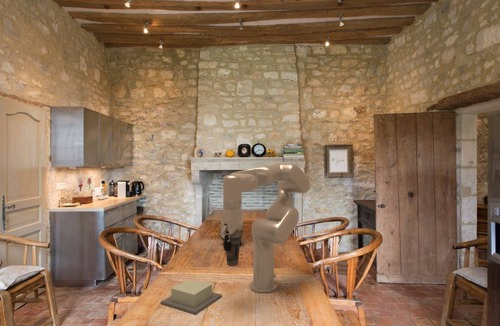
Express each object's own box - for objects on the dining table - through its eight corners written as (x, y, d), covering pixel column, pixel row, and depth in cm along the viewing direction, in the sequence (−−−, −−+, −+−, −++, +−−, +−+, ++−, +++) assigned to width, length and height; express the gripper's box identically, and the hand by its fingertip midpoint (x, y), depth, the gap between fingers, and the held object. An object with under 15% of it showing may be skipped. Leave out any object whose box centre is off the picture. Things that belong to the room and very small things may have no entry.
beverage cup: (227, 268, 130) (227, 218, 129) (221, 262, 136) (221, 215, 135) (244, 266, 132) (244, 217, 132) (237, 260, 139) (237, 213, 138)
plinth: (189, 288, 149) (189, 275, 149) (221, 296, 141) (221, 283, 140) (160, 304, 134) (160, 289, 133) (195, 314, 125) (195, 299, 125)
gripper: (235, 201, 143) (235, 242, 143) (212, 207, 128) (212, 252, 128) (250, 203, 139) (250, 244, 140) (228, 209, 124) (228, 255, 125)
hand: (232, 248), depth 134 cm, fingers closed on beverage cup, 6 cm apart
